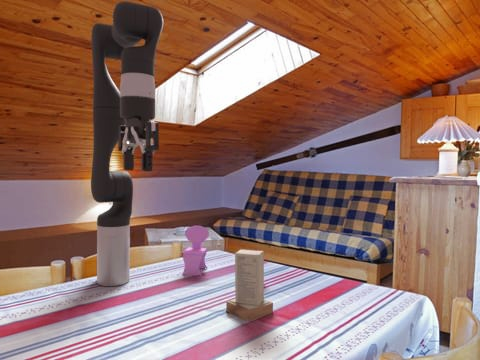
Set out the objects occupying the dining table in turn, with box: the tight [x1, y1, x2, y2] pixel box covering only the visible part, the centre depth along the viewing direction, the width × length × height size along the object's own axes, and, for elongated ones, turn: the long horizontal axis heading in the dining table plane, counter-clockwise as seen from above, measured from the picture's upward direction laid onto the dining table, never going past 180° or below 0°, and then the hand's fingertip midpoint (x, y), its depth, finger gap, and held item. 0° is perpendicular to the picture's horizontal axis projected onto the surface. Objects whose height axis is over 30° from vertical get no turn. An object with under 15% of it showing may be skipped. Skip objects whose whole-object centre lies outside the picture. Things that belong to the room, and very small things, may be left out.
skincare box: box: [234, 249, 265, 305], centre depth 90 cm, size 6×4×12 cm
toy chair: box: [182, 225, 210, 277], centre depth 123 cm, size 8×9×15 cm
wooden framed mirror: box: [225, 298, 274, 323], centre depth 90 cm, size 8×8×3 cm
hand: (137, 170), depth 82 cm, fingers open, 8 cm apart
